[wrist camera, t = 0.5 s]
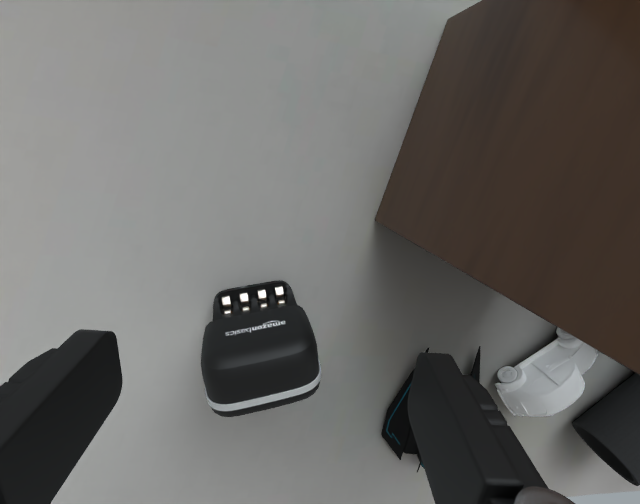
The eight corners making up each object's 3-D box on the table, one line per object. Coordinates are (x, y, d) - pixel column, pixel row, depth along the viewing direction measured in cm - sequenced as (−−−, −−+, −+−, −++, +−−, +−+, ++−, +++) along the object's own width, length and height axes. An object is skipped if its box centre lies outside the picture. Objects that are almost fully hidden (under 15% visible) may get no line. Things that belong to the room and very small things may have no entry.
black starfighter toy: (373, 463, 39) (383, 487, 36) (400, 342, 35) (414, 359, 32) (461, 454, 42) (477, 476, 39) (496, 342, 37) (516, 358, 35)
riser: (374, 220, 30) (672, 394, 10) (447, 18, 26) (1168, -382, 6) (516, 263, 35) (914, 439, 14) (594, 97, 31) (1268, 22, 11)
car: (506, 410, 41) (538, 443, 37) (484, 379, 39) (516, 409, 34) (588, 347, 41) (629, 371, 37) (571, 311, 39) (614, 333, 34)
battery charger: (291, 268, 30) (324, 340, 19) (297, 308, 31) (330, 397, 20) (206, 283, 28) (189, 369, 18) (215, 324, 30) (205, 428, 19)
